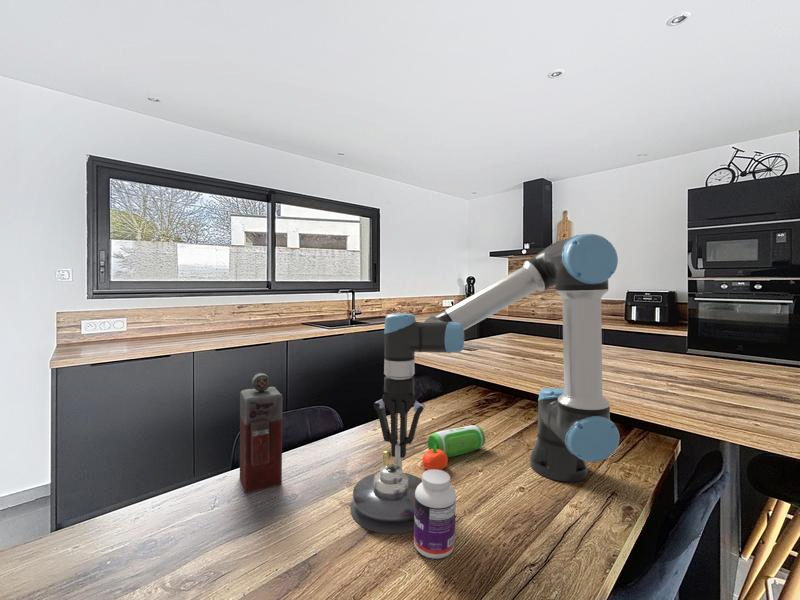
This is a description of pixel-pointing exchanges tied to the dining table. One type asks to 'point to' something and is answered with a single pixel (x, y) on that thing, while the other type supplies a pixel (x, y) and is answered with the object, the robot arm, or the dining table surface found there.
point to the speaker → (457, 440)
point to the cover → (391, 483)
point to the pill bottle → (435, 515)
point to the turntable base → (381, 524)
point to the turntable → (381, 508)
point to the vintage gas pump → (260, 435)
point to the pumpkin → (434, 459)
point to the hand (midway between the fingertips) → (398, 469)
